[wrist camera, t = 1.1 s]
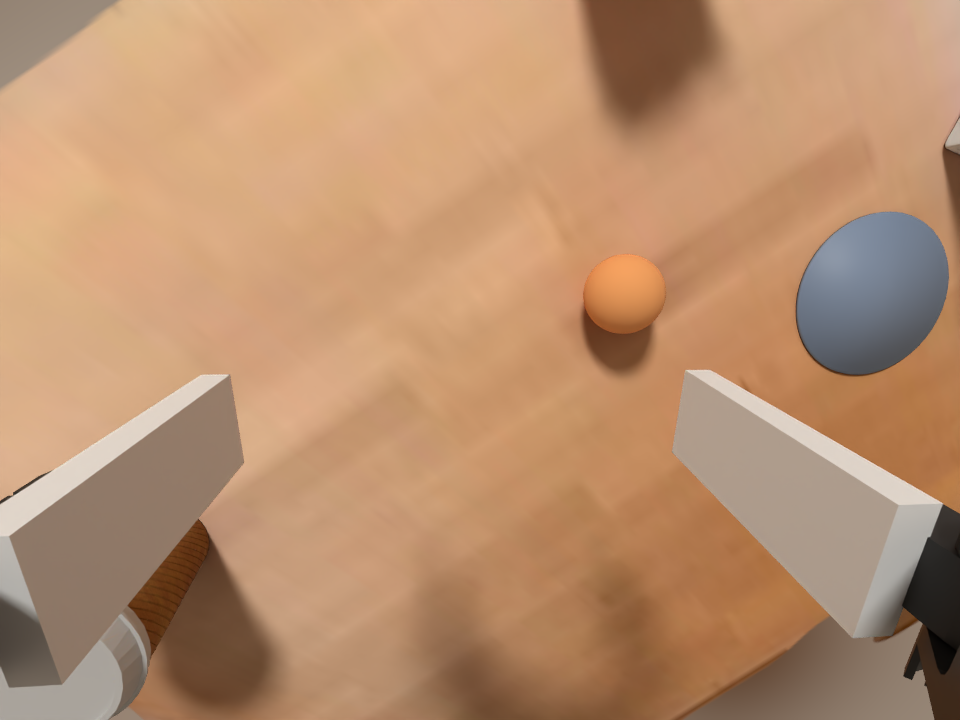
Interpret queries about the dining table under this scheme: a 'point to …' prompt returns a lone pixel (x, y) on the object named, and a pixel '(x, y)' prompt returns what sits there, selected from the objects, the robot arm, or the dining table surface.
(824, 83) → the dining table surface
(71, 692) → the disposable coffee cup
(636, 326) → the ball
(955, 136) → the skincare box
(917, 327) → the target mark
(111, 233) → the dining table surface
